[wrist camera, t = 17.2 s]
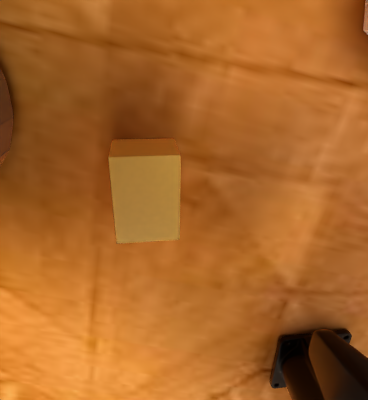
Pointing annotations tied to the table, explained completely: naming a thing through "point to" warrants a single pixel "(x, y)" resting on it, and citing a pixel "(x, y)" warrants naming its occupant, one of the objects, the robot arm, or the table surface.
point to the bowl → (5, 118)
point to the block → (145, 189)
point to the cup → (366, 18)
